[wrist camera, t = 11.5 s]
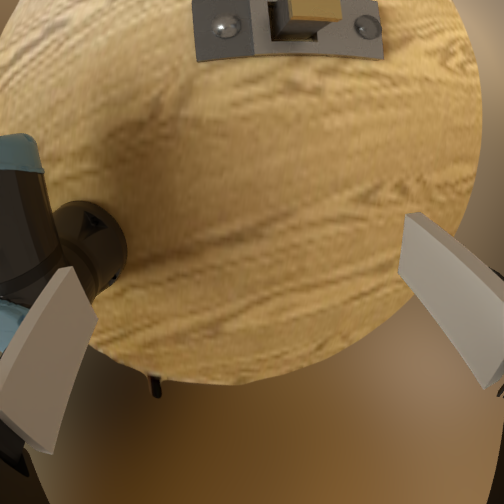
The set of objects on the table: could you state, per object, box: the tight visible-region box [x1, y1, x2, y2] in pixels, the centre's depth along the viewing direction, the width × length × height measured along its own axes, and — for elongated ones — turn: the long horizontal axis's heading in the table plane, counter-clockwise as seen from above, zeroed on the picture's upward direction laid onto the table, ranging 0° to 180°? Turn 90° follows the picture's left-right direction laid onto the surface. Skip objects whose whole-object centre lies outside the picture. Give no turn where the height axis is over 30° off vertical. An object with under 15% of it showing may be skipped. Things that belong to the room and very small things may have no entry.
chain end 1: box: [192, 0, 323, 62], centre depth 29 cm, size 16×9×2 cm, turn 95°
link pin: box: [271, 0, 342, 40], centre depth 24 cm, size 5×5×13 cm
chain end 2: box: [249, 0, 384, 61], centre depth 28 cm, size 17×9×3 cm, turn 95°
